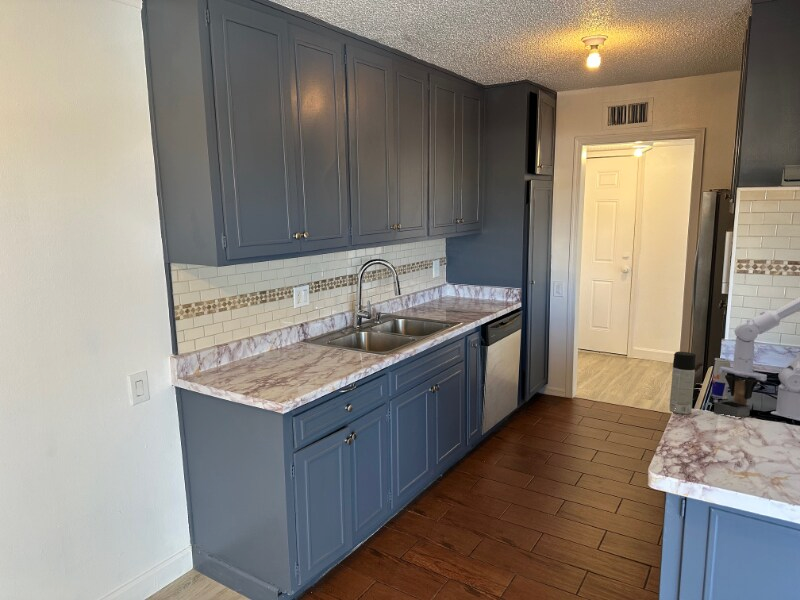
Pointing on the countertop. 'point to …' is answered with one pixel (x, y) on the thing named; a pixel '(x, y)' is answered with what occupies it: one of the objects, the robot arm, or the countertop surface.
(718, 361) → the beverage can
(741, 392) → the peg
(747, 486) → the countertop surface
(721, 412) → the socket
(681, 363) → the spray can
